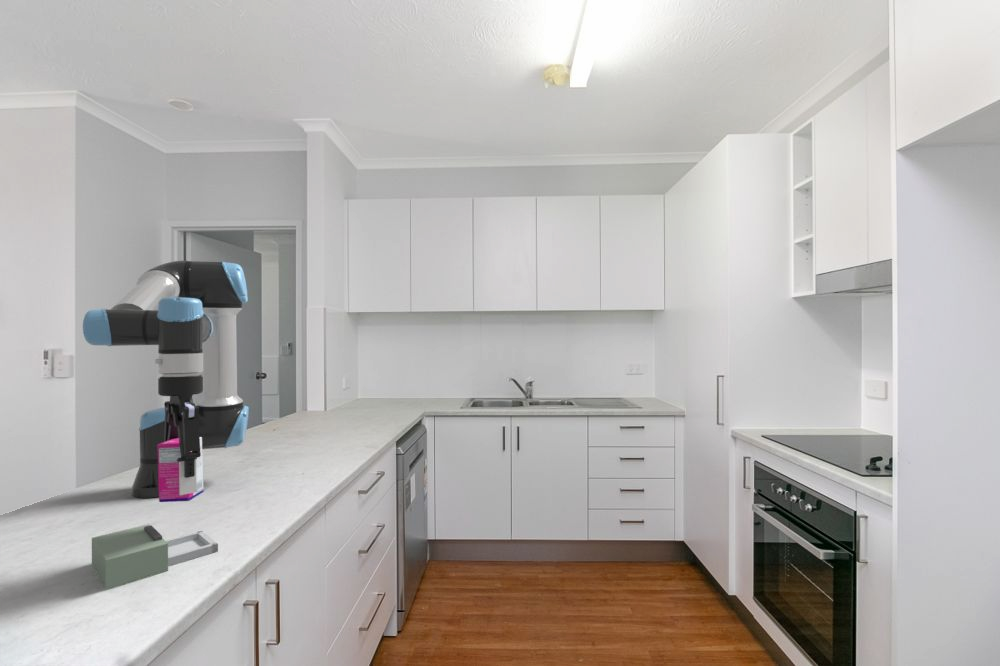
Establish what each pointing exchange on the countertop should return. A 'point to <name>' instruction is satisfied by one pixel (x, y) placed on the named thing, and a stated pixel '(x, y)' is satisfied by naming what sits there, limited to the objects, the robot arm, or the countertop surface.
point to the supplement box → (175, 472)
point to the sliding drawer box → (143, 553)
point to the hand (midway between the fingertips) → (181, 488)
